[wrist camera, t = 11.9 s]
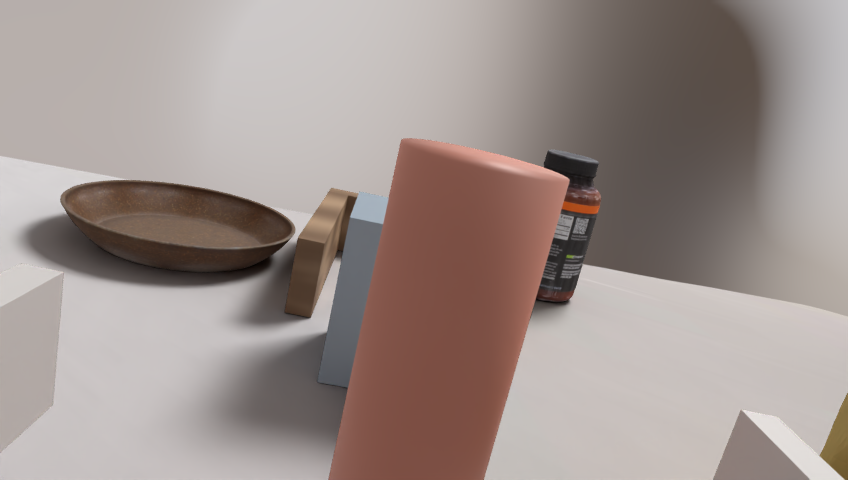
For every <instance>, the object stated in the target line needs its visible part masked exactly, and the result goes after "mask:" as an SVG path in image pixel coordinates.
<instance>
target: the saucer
mask: <svg viewBox="0 0 848 480" xmlns="http://www.w3.org/2000/svg"><path fill="white" fill-rule="evenodd" d="M60 200H61V201H60V202H61V204H62V206H63V207H64V209H65V211H66V212H67V214H68V215H69V217H70V218H71V220H72V221H73V222H74V223H75V225H76V226H77V227H78V228H79V229H80V230H81V231H82V232H83V233H84V234H85V235H86V236H87V237H88V238H90V239H91V240H92V241H93V242H94V243H95V244H97V245H98V246H99V247H101V248H102V249H104V250H105V251H107V252H109V253H111V254H113V255H115V256H117V257H120V258H122V259H125V260H128V261H131V262H135V263H139V264H143V265H147V266H151V267H157V268H162V269H169V270H177V271H189V272H222V271H231V270H238V269H243V268H246V267H249V266H252V265H254V264H256V263H259V262H261V261H262V260H264V259H266V258H268V257H269V256H271V255H272V254H274V253H275V252H277V251H278V250H279V249H280V248H282V247H283V246H284V245H285V244H286V243H287V242H288V241H289V240H290V239H291V237H292V236H293V235H294V234H295V226H294V224H293V223H292V222H291V221H290V220H289V219H288V218H287V217H286V216H284V215H283V214H281V213H279V212H278V211H276V210H274V209H272V208H270V207H267V206H265V205H263V204H260V203H257V202H254V201H252V200H249V199H245V198H242V197H238V196H235V195H231V194H227V193H223V192H219V191H214V190H210V189H205V188H200V187H193V186H188V185H181V184H174V183H165V182H153V181H140V180H111V181H99V182H91V183H85V184H81V185H77V186H74V187H72V188H70V189H68V190H66V191H65V192H64V193H63V194H62V195H61V199H60Z"/></svg>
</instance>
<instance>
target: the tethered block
mask: <svg viewBox="0 0 848 480" xmlns="http://www.w3.org/2000/svg"><path fill="white" fill-rule="evenodd" d="M569 181H570V180H569V179H568V178H567V177H565V176H564V175H561V174H559V173H557V172H554V171H552V170H549V169H546V168H543V167H540V166H537V165H534V164H531V163H527V162H524V161H521V160H517V159H513V158H510V157H506V156H502V155H498V154H494V153H490V152H486V151H482V150H478V149H473V148H468V147H464V146H459V145H454V144H449V143H443V142H437V141H431V140H423V139H412V138H409V139H408V138H407V139H402V140H401V143H400V148H399V153H398V157H397V162H396V166H395V171H394V176H393V181H392V185H391V190H390V194H389V198H387V197H383V196H378V195H373V194H368V193H364V192H359V194H358V197H357V200H356V202H355V205H354V208H353V210H352V213H351V216H350V220H349V225H348V230H347V235H346V240H345V245H344V250H343V255H342V260H341V265H340V270H339V275H338V280H337V285H336V290H335V295H334V300H333V305H332V310H331V315H330V320H329V325H328V330H327V335H326V340H325V345H324V350H323V355H322V360H321V365H320V370H319V375H318V380H317V382H319V383H325V384H330V385H335V386H341V387H346V388H348V391H347V395H346V400H345V405H344V409H343V414H342V419H341V423H340V428H339V433H338V437H337V442H336V447H335V451H334V456H333V461H332V465H331V470H330V475H329V479H328V480H484V477H485V473H486V470H487V466H488V463H489V459H490V456H491V452H492V449H493V445H494V442H495V438H496V435H497V431H498V428H499V424H500V421H501V418H502V414H503V411H504V407H505V404H506V400H507V397H508V393H509V390H510V386H511V383H512V379H513V376H514V372H515V369H516V365H517V362H518V358H519V355H520V352H521V348H522V345H523V341H524V338H525V334H526V331H527V327H528V324H529V320H530V317H531V313H532V310H533V306H534V303H535V299H536V296H537V293H538V289H539V286H540V282H541V279H542V275H543V272H544V268H545V265H546V261H547V258H548V254H549V251H550V247H551V244H552V240H553V237H554V233H555V230H556V227H557V223H558V220H559V216H560V213H561V209H562V206H563V202H564V199H565V195H566V192H567V188H568V185H569Z"/></svg>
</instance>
